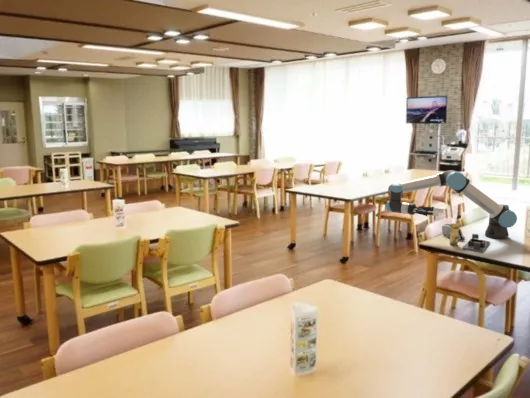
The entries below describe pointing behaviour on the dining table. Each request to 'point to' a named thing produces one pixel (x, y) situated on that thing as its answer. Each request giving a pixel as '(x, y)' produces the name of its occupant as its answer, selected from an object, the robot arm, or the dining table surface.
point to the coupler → (454, 234)
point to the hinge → (447, 231)
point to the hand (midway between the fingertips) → (440, 212)
